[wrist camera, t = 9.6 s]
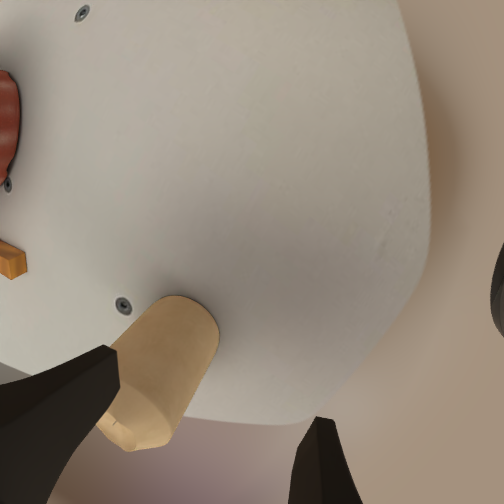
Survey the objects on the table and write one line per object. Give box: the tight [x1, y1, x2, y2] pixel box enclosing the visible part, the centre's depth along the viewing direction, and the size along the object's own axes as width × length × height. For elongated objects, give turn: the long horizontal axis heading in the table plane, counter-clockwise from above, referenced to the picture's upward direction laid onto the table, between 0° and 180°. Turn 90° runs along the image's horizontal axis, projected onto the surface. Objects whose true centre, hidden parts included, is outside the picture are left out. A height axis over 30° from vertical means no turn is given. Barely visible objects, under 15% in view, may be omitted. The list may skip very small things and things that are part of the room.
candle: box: [96, 296, 219, 452], centre depth 16 cm, size 6×6×10 cm
